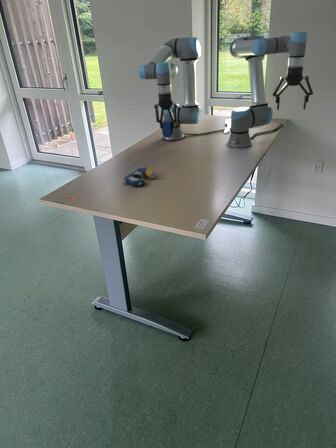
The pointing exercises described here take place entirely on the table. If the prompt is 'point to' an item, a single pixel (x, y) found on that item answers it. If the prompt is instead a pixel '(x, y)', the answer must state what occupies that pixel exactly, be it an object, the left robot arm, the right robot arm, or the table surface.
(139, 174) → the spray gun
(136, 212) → the table surface
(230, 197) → the table surface
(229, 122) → the spoon
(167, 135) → the block
